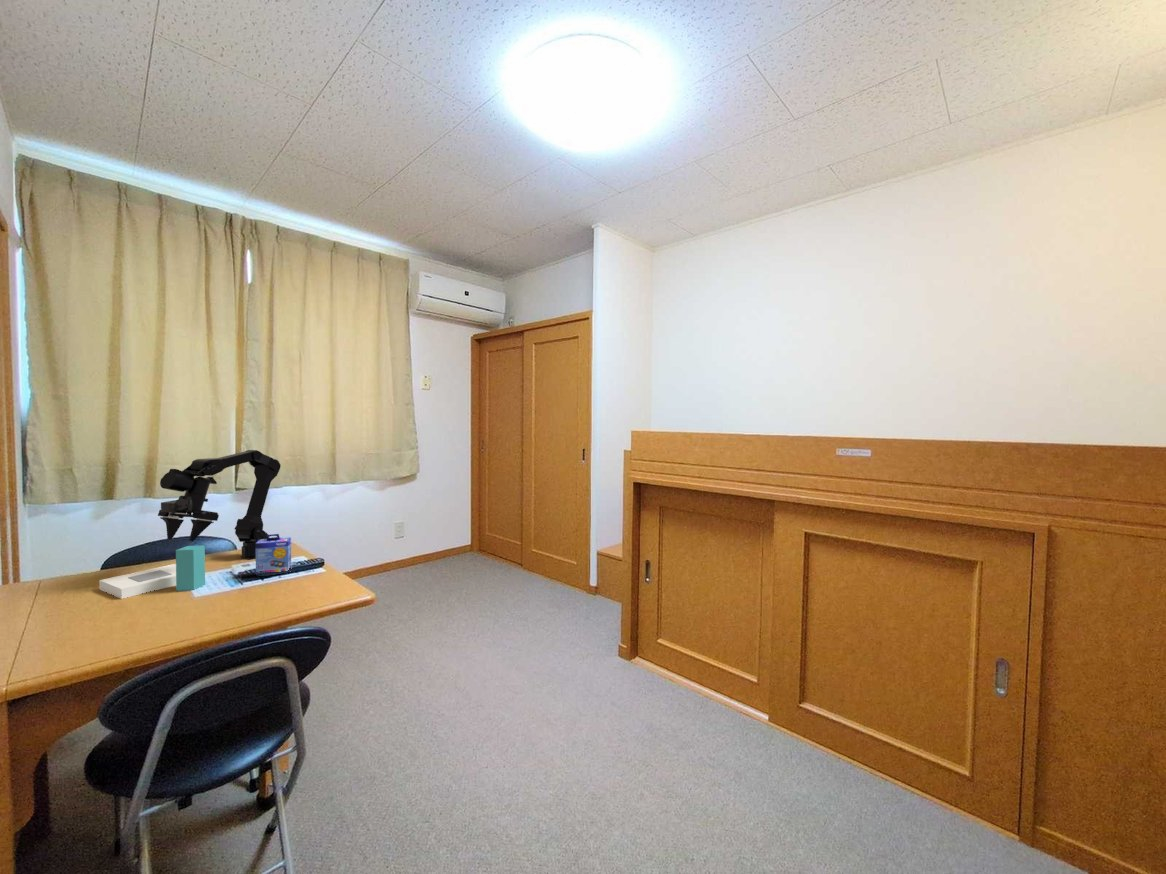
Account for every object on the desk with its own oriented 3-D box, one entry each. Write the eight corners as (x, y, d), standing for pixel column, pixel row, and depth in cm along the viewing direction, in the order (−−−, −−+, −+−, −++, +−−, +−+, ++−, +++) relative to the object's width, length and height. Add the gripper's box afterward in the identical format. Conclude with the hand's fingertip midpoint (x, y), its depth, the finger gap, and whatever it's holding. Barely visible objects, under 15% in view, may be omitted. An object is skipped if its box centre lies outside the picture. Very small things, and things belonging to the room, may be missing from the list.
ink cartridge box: (254, 578, 152) (254, 536, 151) (258, 573, 157) (258, 532, 156) (289, 574, 156) (288, 533, 156) (291, 569, 161) (291, 530, 161)
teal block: (188, 585, 145) (187, 545, 144) (205, 584, 145) (204, 545, 145) (176, 591, 140) (175, 550, 139) (193, 590, 140) (193, 549, 140)
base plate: (179, 571, 158) (179, 562, 158) (202, 578, 151) (202, 569, 151) (99, 589, 140) (99, 579, 140) (121, 598, 133) (121, 588, 133)
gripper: (148, 488, 148) (131, 536, 144) (194, 491, 145) (177, 540, 140) (183, 494, 159) (167, 539, 154) (226, 497, 155) (211, 542, 150)
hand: (180, 540), depth 149 cm, fingers open, 9 cm apart
